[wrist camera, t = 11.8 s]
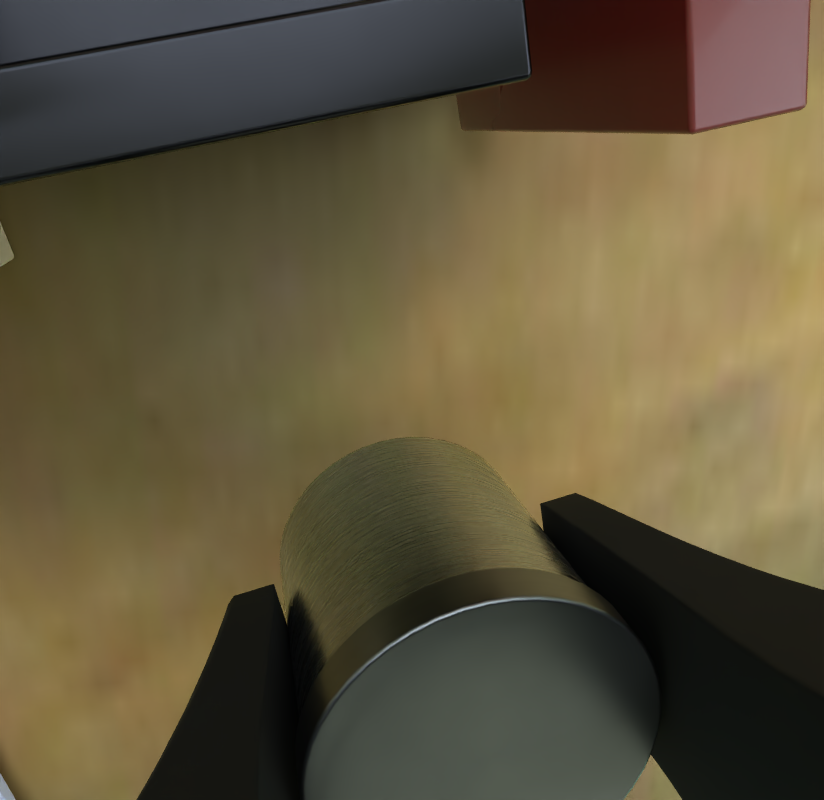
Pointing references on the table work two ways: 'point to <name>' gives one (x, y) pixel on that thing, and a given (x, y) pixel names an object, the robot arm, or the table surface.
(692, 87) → the drawer
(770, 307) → the table surface
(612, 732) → the tin
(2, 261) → the cabinet
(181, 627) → the table surface
